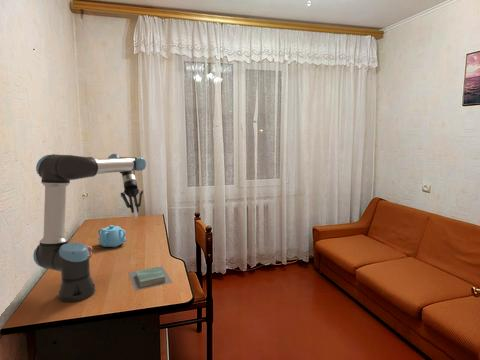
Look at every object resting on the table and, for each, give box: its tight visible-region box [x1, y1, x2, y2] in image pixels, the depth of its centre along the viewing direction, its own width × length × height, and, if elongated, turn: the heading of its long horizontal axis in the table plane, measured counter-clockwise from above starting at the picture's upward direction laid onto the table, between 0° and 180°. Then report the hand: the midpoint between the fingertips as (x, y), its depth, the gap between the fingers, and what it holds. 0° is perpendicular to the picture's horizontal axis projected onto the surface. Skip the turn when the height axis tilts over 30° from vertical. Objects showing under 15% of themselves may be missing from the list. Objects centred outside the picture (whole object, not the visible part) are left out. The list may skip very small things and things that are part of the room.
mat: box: [128, 265, 173, 291], centre depth 162 cm, size 22×18×1 cm
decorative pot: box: [97, 224, 127, 248], centre depth 211 cm, size 16×16×14 cm
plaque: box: [136, 266, 165, 287], centre depth 161 cm, size 2×12×14 cm
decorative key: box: [86, 245, 93, 258], centre depth 190 cm, size 7×1×20 cm
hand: (136, 216), depth 176 cm, fingers closed
